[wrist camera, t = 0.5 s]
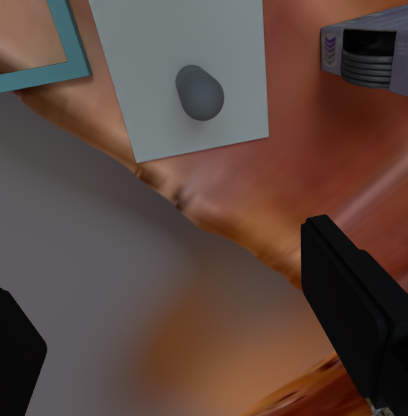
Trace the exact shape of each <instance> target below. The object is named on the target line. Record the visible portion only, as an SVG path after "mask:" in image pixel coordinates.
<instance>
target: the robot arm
mask: <svg viewBox="0 0 408 416" xmlns="http://www.w3.org/2000/svg"><path fill="white" fill-rule="evenodd" d="M301 285H302V290H303V293H304V295H305V297H306V299H307V301H308V302H309V304H310V306H311V308H312V310H313V311H314V313H315V315H316V317H317V319H318V320H319V322H320V324H321V326H322V328H323V329H324V331H325V333H326V335H327V336H328V338H329V340H330V342H331V344H332V345H333V347H334V349H335V351H336V353H337V354H338V356H339V358H340V360H341V362H342V363H343V365H344V367H345V369H346V371H347V372H348V374H349V376H350V378H351V380H352V381H353V383H354V385H355V387H356V389H357V390H358V392H359V394H360V395H361V396H362V397H363V398H364V399H366V398H369V399H370V401H371V403H372V405H373V406H374V408H375V410H377V409H382V408H386V407H389V408H390V410H391V411H392V413H393V414H394V416H408V294H407V293H406V292H405V291H404V290H403V289H402V287H401V286H400V285H399V284H398V283H397V282H396V281H395V280H394V279H393V278H392V277H391V276H390V275H389V274H388V273H387V272H386V271H385V270H384V269H383V268H382V267H381V266H380V265H379V263H378V262H377V261H376V260H375V259H374V258H373V257H372V256H371V255H370V254H369V253H368V252H366V251H365V250H362V249H361V250H359V249H358V248H357V247H356V246H355V245H354V244H353V243H352V242H351V240H350V239H349V238H348V237H347V236H346V235H345V234H344V233H343V232H342V231H341V230H340V229H339V228H338V226H337V225H336V224H335V223H334V222H333V221H332V220H331V219H330V218H329V217H328V216H327V215H325V214H323V215H319V216H314V217H310V218H307V219H306V223H304V224H301ZM46 353H47V346H46V343H45V341H44V340H43V338H42V337H41V336H40V334H39V333H38V331H37V330H36V329H35V327H34V326H33V325H32V323H31V322H30V320H29V319H28V318H27V316H26V315H25V314H24V312H23V311H22V309H21V308H20V306H19V305H18V304H17V302H16V301H15V300H14V298H13V297H12V295H11V294H10V293H9V292H8V291H6V290H3V289H2V288H0V416H25V413H26V410H27V408H28V405H29V402H30V399H31V396H32V394H33V390H34V388H35V385H36V382H37V379H38V377H39V374H40V371H41V368H42V365H43V363H44V359H45V357H46Z"/></svg>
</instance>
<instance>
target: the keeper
mask: <svg viewBox="0 0 408 416" xmlns="http://www.w3.org/2000/svg"><path fill="white" fill-rule="evenodd" d="M89 3H90V7H91V10H92V14H93V17H94V20H95V24H96V27H97V30H98V34H99V37H100V41H101V44H102V47H103V51H104V54H105V57H106V61H107V64H108V68H109V71H110V74H111V78H112V81H113V84H114V88H115V91H116V95H117V98H118V101H119V105H120V108H121V112H122V115H123V118H124V122H125V125H126V128H127V132H128V135H129V139H130V142H131V145H132V149H133V152H134V155H135V159H136V162H137V163H140V162H145V161H150V160H155V159H160V158H165V157H170V156H175V155H180V154H185V153H190V152H195V151H200V150H205V149H210V148H215V147H220V146H225V145H230V144H235V143H240V142H245V141H250V140H255V139H260V138H265V137H269V130H268V109H267V89H266V69H265V48H264V28H263V8H262V0H89Z"/></svg>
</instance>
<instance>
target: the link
mask: <svg viewBox="0 0 408 416" xmlns="http://www.w3.org/2000/svg"><path fill="white" fill-rule="evenodd" d="M47 3H48V5H49V8H50V11H51V14H52V17H53V19H54V22H55V25H56V28H57V31H58V33H59V36H60V39H61V42H62V45H63V48H64V50H65V53H66V56H67V59H68V62H64V63H59V64H54V65H48V66H43V67H38V68H32V69H27V70H22V71H16V72H11V73H6V74H0V93H1V92H6V91H12V90H17V89H22V88H27V87H33V86H38V85H43V84H48V83H54V82H59V81H64V80H69V79H75V78H80V77H85V76H90V75H92V71H91V68H90V65H89V62H88V59H87V56H86V53H85V50H84V47H83V44H82V41H81V38H80V34H79V31H78V28H77V25H76V22H75V19H74V16H73V13H72V10H71V7H70V4H69V1H68V0H47Z"/></svg>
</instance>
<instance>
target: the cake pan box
mask: <svg viewBox="0 0 408 416" xmlns="http://www.w3.org/2000/svg"><path fill="white" fill-rule="evenodd" d="M321 66H322V69H321V70H323V71H326V72H330V73H333V74H337V75H341V77H342V78H343V79H344V80H345V81H346V82H349V83H351V84H354V85H358V86H363V87H369V88H378V89H390V91H391V92H393V93H397V94H400V95H403V96H407V97H408V4H406V5H402V6H398V7H394V8H390V9H386V10H384V11H380V12H376V13H373V14H369V15H365V16H362V17H358V18H355V19H351V20H348V21H344V22H341V23H337V24H334V25H330V26H327V27H323V28H321Z"/></svg>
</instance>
